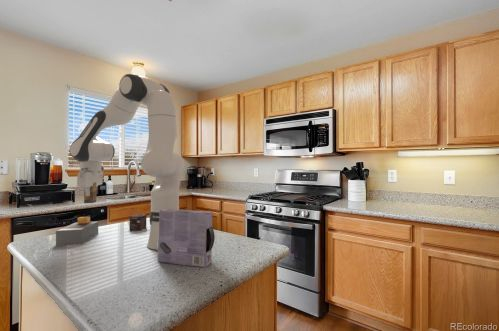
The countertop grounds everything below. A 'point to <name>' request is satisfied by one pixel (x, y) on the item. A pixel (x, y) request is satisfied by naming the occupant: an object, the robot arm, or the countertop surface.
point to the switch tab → (83, 220)
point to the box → (137, 222)
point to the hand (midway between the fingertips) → (90, 195)
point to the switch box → (76, 233)
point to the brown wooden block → (93, 195)
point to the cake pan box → (185, 237)
